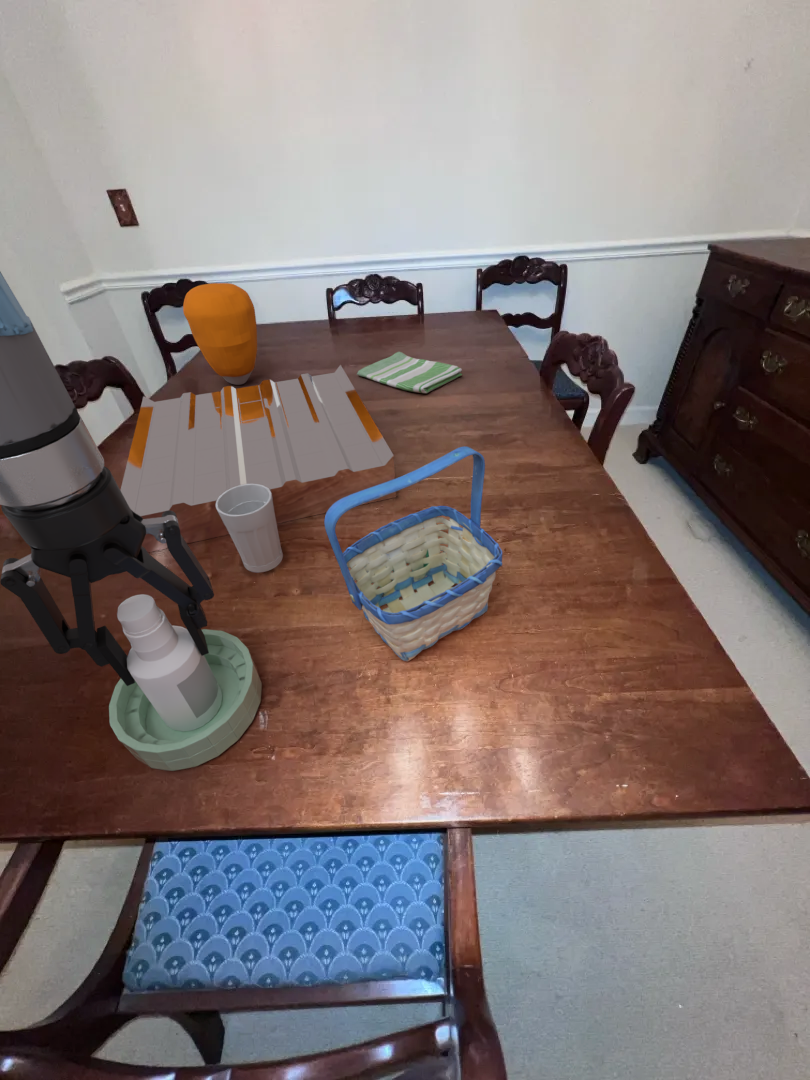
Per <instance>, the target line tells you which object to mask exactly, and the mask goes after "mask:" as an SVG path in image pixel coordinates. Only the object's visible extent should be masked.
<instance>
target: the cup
mask: <svg viewBox="0 0 810 1080" xmlns="http://www.w3.org/2000/svg"><path fill="white" fill-rule="evenodd" d="M216 509H217V511H218V513H219V515H220V517H221V519H222V520H223V522H224V524H225V526H226V528H227V530H228V532H229V536H230V538H231V540H232V542H233V544H234V546H235V549H236V551H237V552H238V554H239V556H240V559H241V561H242V564H243V567H244V568H245V569H246V570H247V571H249V572H251V573H264V572H269V571H271V570H273V569H275V568H276V567H278V566H279V565H280V564H281V562H282V561H283V558H284V554H283V549H282V547H281V546H282V545H281V541H280V535H279V530H278V524H276V518H275V513H274V507H273V500H272V494H271V491H270V490H269V489H268V488H267V487H265V486H263V485H260V484H243V485H239V486H236V487H233V488H231V489H229V490H227V491H225V492H224V493H223V494H221V495H220V496H219V498H218V499H217V501H216Z"/></svg>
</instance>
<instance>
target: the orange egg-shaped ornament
mask: <svg viewBox="0 0 810 1080" xmlns="http://www.w3.org/2000/svg"><path fill="white" fill-rule="evenodd" d="M182 311H183V316H184V317H185V319H186V321H187V323H188V326H189V330H190V332H191V334H192V337H193V339H194V341H195V344H196V345H197V347H198V349H199V351H200V352H201V353H202V356H203V358H204V359H205V361H206V363H207V364H208V365H209V366H210V368H211V369H212V370H213V371H214V372H215V373H216V374H217V375H218V377H219V376H220V377H221V378H222V379H223V380H225V381H226V382H227V383H229V384H231V385H234V386H241V385H244V384H246V383H247V381H248V380H249V378H250V377H251V374H252V373H253V371H254V370H255V367H256V360H257V354H258V328H257V317H256V310H255V306H254V303H253V301H252V299H251V296H250V295H249V293H248V292H247V291H246V290H245V289H243V288H242V287H240V286H238V285H236V284H234V283H229V282H221V283H220V282H212V283H205V284H199V285H197V286H195V287H192V288H191V289H189V291H188V292H187V293H186V294H185V296H184V299H183V305H182Z"/></svg>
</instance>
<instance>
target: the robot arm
mask: <svg viewBox="0 0 810 1080" xmlns="http://www.w3.org/2000/svg"><path fill="white" fill-rule="evenodd" d="M0 506H1V511H2V513H3V515H4V516H5V517H6V518H7V521H9V523H10V524H11V525H12V527H13V528H14V529H15V530H16V532H17V533H18V535H19V536H20V537H21V538H22V539H23V541H24V542H25V544H27V545H28V546H29V547H30V551H31V552H30V554H27V555H26V556H23V557H21V558H16V557H9V558H7V559H5V560H4V561H3V564H2V568H1V569H2V570H1V574H0V575H1V576H0V585H1V586H2V587H3V588H5V589H6V590H8V591H10V592H11V593H12V594H14V595H15V596H17V597H18V598H19V599H20V600H21V602H22V603H23V605H24V606H25V608H26V609H27V611H28V612H29V615H31V617H32V618H33V621H34V622H35V623H36V625H37V626H38V628H39V631H41V633H42V634H43V636H44V637H45V639H46V641H47V642H48V643H49V645H50V647H51V648H52V650H53V651H54V653H55V654H58V655H63V654H67V653H68V652H70V651H71V649H80V650H83V651H84V652H86V654H87V655H88V656H89V657H90V658H91V659H92V661H94V663H95V664H96V666H99V667H102V668H103V667H104V666H108V665H110V666H111V668H112V669H113V670H114V672H115V673H116V674H117V676H118V677H119V679H122V680H123V682H124V683H125V684H126V685H127V686H129V685H131V684H134V683H135V680H134V678H133V677H132V676H131V674H130V672H129V671H128V669H127V657H128V654H127V653H126V652H125V650H124V649H123V648H122V647H121V645H120V644H119V642H118V641H117V640H116V638H115V637H114V636H113V634H112V633H111V631H110V630H109V629H108V628H107V627H108V626H106V625H102V626H100V627H97V628H96V627H95V626H96V625H95V616H94V605H93V595H92V585H91V584H93V583H95V582H99V581H102V580H103V579H105V578H107V577H108V576H113V575H119V574H123V573H128V574H130V575H131V576H132V577H134V578H136V579H141V580H142V581H144V582H146V583H147V584H148V585H149V586H151V587H152V588H154V589H155V590H157V591H158V592H160V593H161V594H162V595H164V596H165V597H166V598H168V599H169V600H171V601H173V602H174V603H175V604H176V605H177V608H178V612H179V617H180V620H181V621H182V623H183V624H184V626H185V628H186V629H187V630H188V632H189V634H190V635H191V637H192V639H193V641H194V643H195V644H196V646H197V648H198V650H199V652H200V653H201V655H202V656H203V655H205V654H208V653H209V651H208V647H207V643H206V639H205V635H204V634H203V632H202V629H203V628H205V627H208V620H207V616H206V615H207V614H206V612H205V610H204V608H203V606H202V605H201V604H202V602H203V601H209V600H210V601H211V600H212V599H213V598H214V597H215V593H214V589H213V585H212V581H211V580H210V577H209V575H208V574H207V572H206V571H205V569H204V568H203V566H202V564H201V563H200V562H199V560H198V559H197V557H196V555H195V554H194V552H193V551H192V549H191V547H190V546H189V544H187V543H186V542H185V540H184V538H183V537H182V535H181V534H180V528H179V524H178V520H177V516H176V513H175V512H174V511H170V510H168V511H165V512H163V514H162V517H158V518H150V519H143V518H142V517H141V516H139V515H138V514H136V513H135V512H133V511H132V510H131V509H130V507H129V505H128V504H127V502H126V500H125V498H124V496H123V494H122V492H121V488H120V487H119V485H118V483H117V481H116V479H115V478H114V475H113V474H112V472H111V470H110V469H109V468H108V467H106V466H105V458H104V457H103V455H102V453H101V451H100V449H99V448H98V446H97V444H96V443H95V440H94V439H93V436H92V435H91V433H90V431H89V429H88V427H87V426H86V424H85V422H84V420H83V418H82V416H81V415H80V413H79V411H78V410H77V407H76V406H75V403H74V402H73V399H72V398H71V396H70V394H69V392H68V390H67V388H66V386H65V384H64V383H63V379H61V377H60V375H59V372H58V371H57V369H56V367H55V365H54V363H53V361H52V359H51V357H50V355H49V353H48V352H47V349H46V347H45V345H44V344H43V342H42V339H41V338H40V336H39V334H38V332H37V330H36V328H35V326H34V324H33V322H32V320H31V318H30V316H28V315H27V314H26V312H25V311H24V308H23V307H22V305H21V304H20V302H19V300H18V298H17V297H16V295H15V294H14V292H13V290H12V288H11V287H10V285H9V283H8V281H7V280H6V279H5V277H4V275H3V273H2V271H0ZM146 534H151V535H153V536H154V537H155V538H156V540H157V541H159V542H160V543H162V544H165V543H167V547H168V548H167V549H168V551H169V553H170V555H171V556H172V558H173V559H174V561H175V562H176V564H177V565H178V567H179V568H180V569H181V571H182V573H184V575H185V577H186V578H187V579H188V581H189V582H190V584H191V585H192V586H191V585H190V584H189V583H187V582H186V581H184V579H182V578H180V577H179V576H178V575H177V574H175V572H173V571H171V570H170V569H169V568H168V567H166V566H165V565H164V564H162V563H161V562H160V561H159V560H157V559H156V558H155V557H153V556H152V555H151V554H150V553H149V552H147V550H146V549H145V548H144V547H142V543H143V541H144V538H145V535H146ZM41 569H43V570H46V571H48V572H51V573H54V574H57V575H61V576H64V577H67V578H69V579H70V583H71V592H72V597H73V603H74V612H75V621H76V627H73V628H71V627H70V626H69V623H68V622H67V620H66V619H65V617H64V616H63V613H62V612H61V610H60V608H59V607H58V605H57V602H55V599H54V598H53V596H52V594H51V592H50V591H49V589H48V587H47V586H46V584H45V582H44V580H43V579H42V575H41V574H42V570H41Z"/></svg>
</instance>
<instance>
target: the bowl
mask: <svg viewBox="0 0 810 1080" xmlns="http://www.w3.org/2000/svg"><path fill="white" fill-rule="evenodd" d="M201 630H202V632H203V634H204V635H205V639H206V643H207V647H208V651H209V653H208V654H205V655H204V656H205V658H206V660H207V662H208V664H209V666H210V668H211V670H212V672H213V674H214V676H215V678H216V680H217V682H218V684H219V686H220V688H221V692H222V701H221V706H220V708H219V710H218V712H217V713H216V715H215V716H214V717H213V718H212V719H211V720H210V721H209V722H208V723H206V724H205V725H203V726H202V727H200V728H197V729H195V730H191V731H184V732H183V731H177V730H173V729H171V728H170V727H168V726H167V725H166V724H165V722H164V721H163V719H162V718H161V716H160V715H159V714H158V712H157V711H156V709H155V708H154V707H153V705H152V704H151V702H150V701H149V700H148V698H147V697H146V695H145V694H144V692H143V691H142V690H141V688H140V687H139V685H138V684H137V683H136V681H135V683H134V684H131V685H129V686H127V685H126V684H125V683H124V682H123V680H122V679H121V678H119V680H118V682H117V683H116V684H115V686H114V689H113V692H112V694H111V698H110V701H109V704H108V716H109V726H110V728H111V729H112V731H113V733H114V734H115V737H116V738H117V740H118V741H119V742H120V743H121V744H122V745H123V746H124V747H125V748H126V749H127V751H128V752H129V753H130V754H131V755H132V756H133V757H134V758H135V759H136V760H138V761H139V762H140V763H142V764H144V765H146V766H147V767H149V768H151V769H155V770H163V771H170V772H175V771H181V770H185V769H190V768H195V767H198V766H201V765H202V764H205V763H207V762H209V761H211V760H213V759H216V758H218V757H219V756H221V754H223V753H224V752H225V751H227V750H228V749H229V748H230V747H231V746H232V745H234V744H235V743H236V742H238V741H239V740H240V738H241V737H242V736H243V734H244V733H245V732H246V731H247V730H248V728H249V726H250V725H251V724H252V723H253V721H254V719H255V717H256V714H257V711H258V709H259V707H260V704H261V701H262V688H263V684H262V680H261V677H260V674H259V671H258V668H257V666H256V663H255V661H254V659H253V657H252V654H251V652H250V650H249V648H248V647H247V645H245V643H243V641H241V640H240V638H239V637H237V636H235V635H233V634H231V633H228V632H226V631H224V630H217V629H209V628H208V629H207V628H201Z"/></svg>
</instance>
